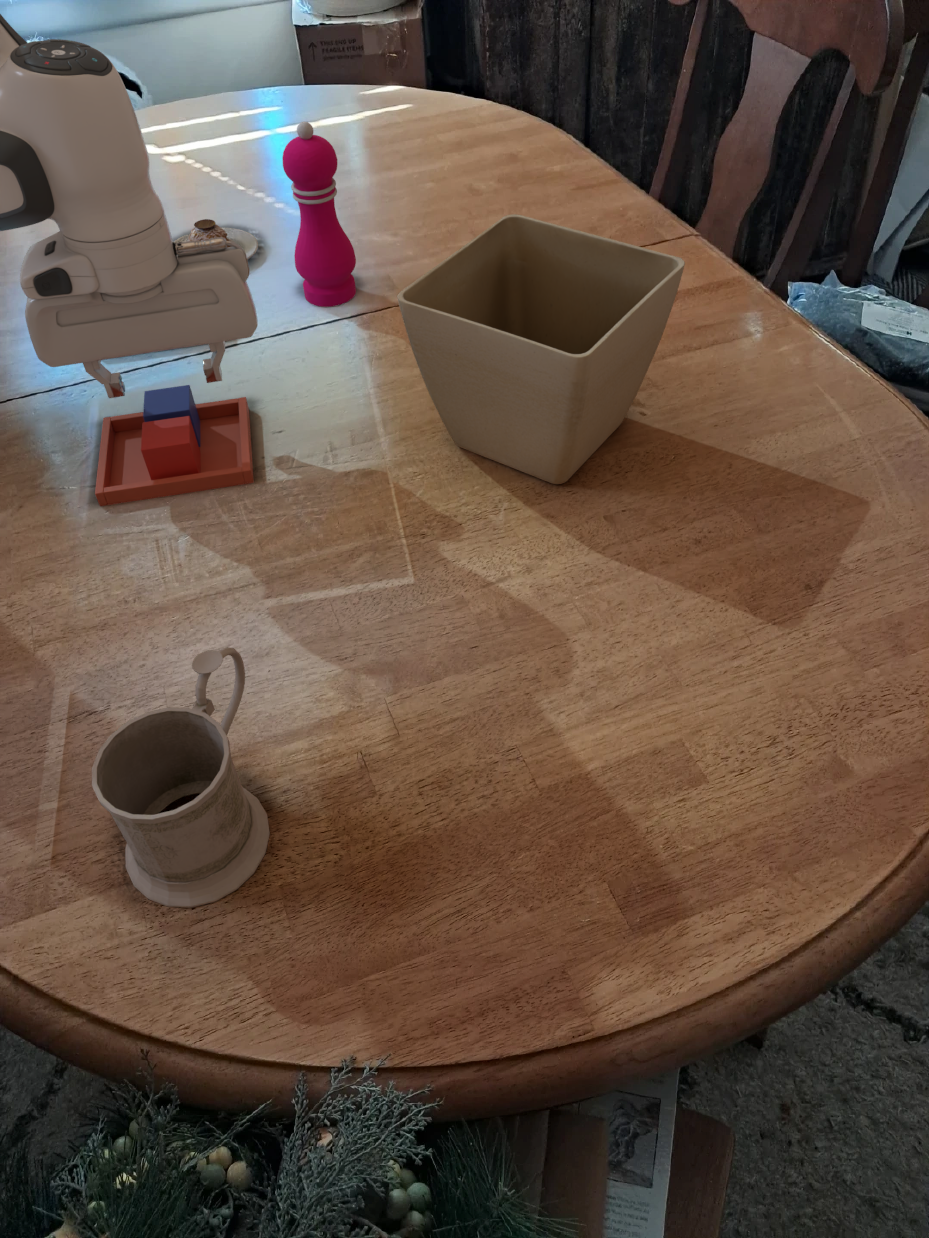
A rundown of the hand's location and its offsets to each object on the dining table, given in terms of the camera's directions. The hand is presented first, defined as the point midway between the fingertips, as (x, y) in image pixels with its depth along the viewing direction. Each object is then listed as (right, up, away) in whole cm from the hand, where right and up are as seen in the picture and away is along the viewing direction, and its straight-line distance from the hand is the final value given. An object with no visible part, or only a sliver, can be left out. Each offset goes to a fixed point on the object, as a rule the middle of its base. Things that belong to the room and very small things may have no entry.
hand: (166, 386), depth 97 cm
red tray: (+1, -7, +3) cm, 7 cm away
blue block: (0, -4, +4) cm, 6 cm away
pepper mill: (+13, +17, +24) cm, 32 cm away
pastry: (-4, +24, +32) cm, 41 cm away
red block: (+1, -8, 0) cm, 8 cm away
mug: (+11, -37, -26) cm, 47 cm away
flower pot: (+37, -4, +3) cm, 37 cm away
